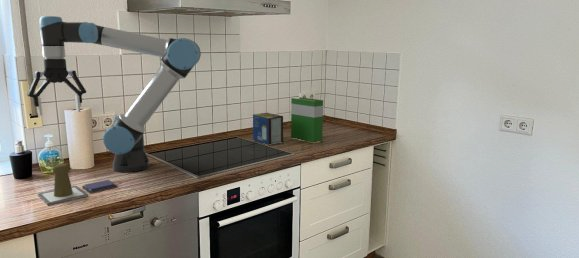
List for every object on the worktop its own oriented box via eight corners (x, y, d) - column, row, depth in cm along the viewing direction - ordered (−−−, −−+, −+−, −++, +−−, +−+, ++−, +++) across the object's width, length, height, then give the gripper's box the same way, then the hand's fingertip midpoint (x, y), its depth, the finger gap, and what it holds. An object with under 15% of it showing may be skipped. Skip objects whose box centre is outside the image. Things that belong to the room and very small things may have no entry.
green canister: (291, 139, 244) (291, 98, 240) (299, 137, 250) (300, 97, 245) (313, 144, 232) (314, 101, 228) (322, 142, 237) (323, 100, 233)
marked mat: (76, 187, 158) (76, 185, 158) (88, 196, 149) (88, 194, 149) (37, 195, 150) (37, 193, 149) (47, 205, 140) (47, 203, 140)
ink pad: (109, 182, 165) (109, 178, 164) (117, 187, 159) (117, 183, 159) (82, 187, 158) (82, 184, 158) (89, 193, 152) (89, 189, 152)
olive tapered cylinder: (76, 191, 152) (73, 162, 150) (67, 197, 147) (64, 166, 144) (59, 191, 152) (56, 162, 150) (50, 197, 146) (47, 166, 144)
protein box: (267, 138, 246) (267, 112, 243) (283, 143, 234) (283, 116, 231) (252, 140, 239) (252, 114, 236) (268, 145, 227) (268, 117, 224)
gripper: (85, 57, 170) (89, 109, 174) (14, 58, 153) (20, 115, 158) (92, 58, 165) (96, 111, 169) (18, 58, 148) (25, 117, 152)
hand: (59, 113), depth 163 cm, fingers open, 13 cm apart
